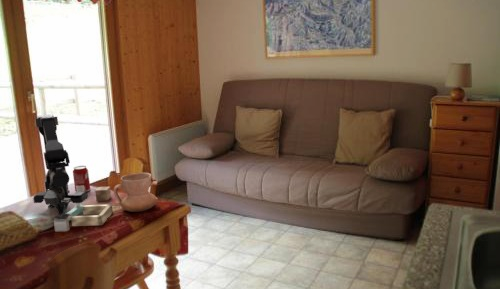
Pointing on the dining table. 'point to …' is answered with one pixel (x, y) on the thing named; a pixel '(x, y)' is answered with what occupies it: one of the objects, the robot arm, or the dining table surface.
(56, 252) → the dining table surface
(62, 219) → the grey hooked piece
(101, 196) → the light wood block
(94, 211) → the cream c-clamp frame
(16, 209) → the dining table surface
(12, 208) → the dining table surface
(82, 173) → the soda can
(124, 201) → the ceramic jug
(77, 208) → the link
